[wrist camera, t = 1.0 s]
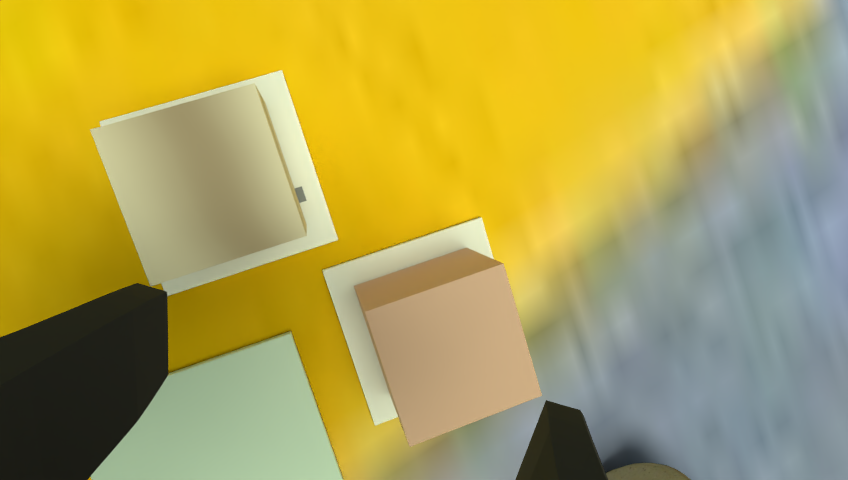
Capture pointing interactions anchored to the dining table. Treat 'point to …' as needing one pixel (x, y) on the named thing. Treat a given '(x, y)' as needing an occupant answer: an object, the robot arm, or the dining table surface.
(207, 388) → the coaster
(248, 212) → the birch block
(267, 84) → the code tile
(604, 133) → the dining table surface
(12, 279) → the dining table surface
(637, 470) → the ceramic mug
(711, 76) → the dining table surface
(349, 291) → the code tile
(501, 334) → the terracotta block
